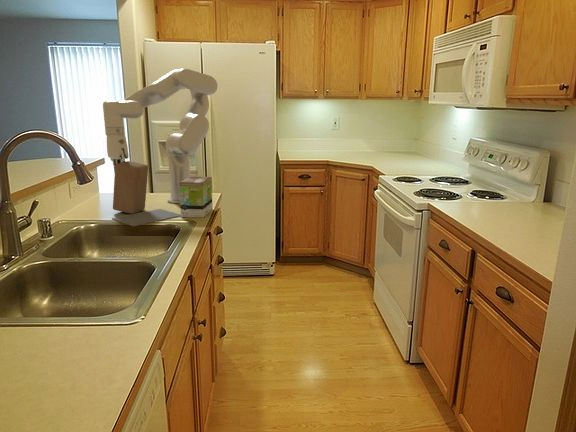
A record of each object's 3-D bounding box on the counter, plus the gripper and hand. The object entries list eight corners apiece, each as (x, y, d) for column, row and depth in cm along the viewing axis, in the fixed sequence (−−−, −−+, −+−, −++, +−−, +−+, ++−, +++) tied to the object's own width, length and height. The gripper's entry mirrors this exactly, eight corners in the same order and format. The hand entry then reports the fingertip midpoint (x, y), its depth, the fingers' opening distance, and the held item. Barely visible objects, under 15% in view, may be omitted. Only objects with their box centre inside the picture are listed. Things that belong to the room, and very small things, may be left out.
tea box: (204, 218, 176) (203, 181, 173) (180, 217, 177) (178, 181, 173) (213, 209, 191) (211, 176, 187) (190, 209, 191) (188, 175, 188)
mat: (160, 209, 190) (160, 208, 190) (182, 215, 179) (182, 214, 179) (111, 219, 174) (111, 218, 174) (132, 226, 164) (132, 225, 163)
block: (133, 215, 181) (136, 168, 175) (111, 210, 182) (114, 163, 177) (145, 209, 190) (149, 164, 185) (124, 204, 192) (127, 160, 186)
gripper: (132, 131, 179) (136, 176, 184) (115, 130, 189) (119, 172, 194) (114, 132, 174) (119, 178, 178) (98, 131, 184) (102, 174, 188)
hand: (119, 175), depth 186 cm, fingers closed
